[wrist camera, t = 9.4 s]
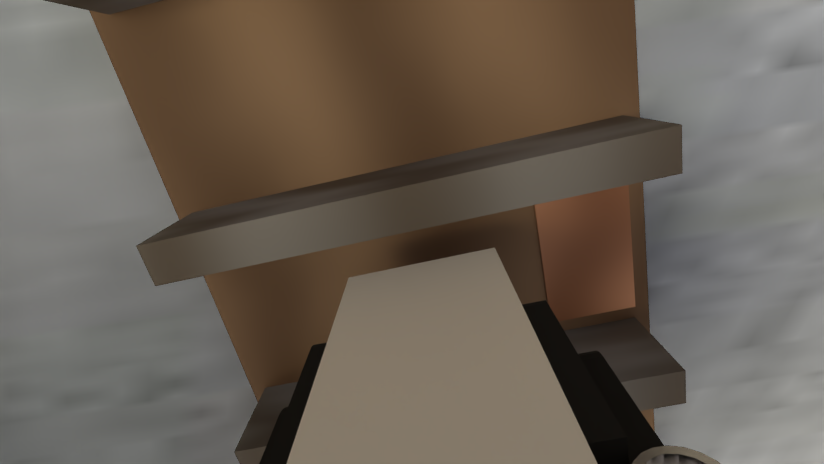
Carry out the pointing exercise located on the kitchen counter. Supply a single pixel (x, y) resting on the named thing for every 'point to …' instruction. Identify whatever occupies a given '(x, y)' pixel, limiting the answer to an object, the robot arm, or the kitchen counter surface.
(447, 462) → the cream plug
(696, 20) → the kitchen counter surface
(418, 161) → the wooden divided tray
